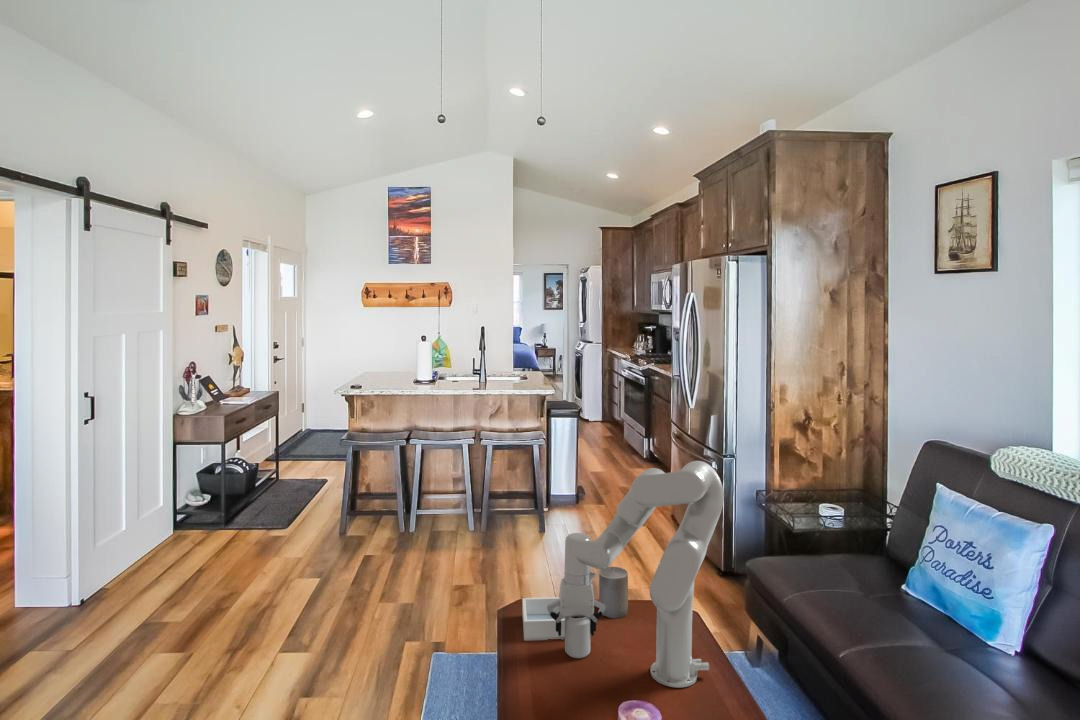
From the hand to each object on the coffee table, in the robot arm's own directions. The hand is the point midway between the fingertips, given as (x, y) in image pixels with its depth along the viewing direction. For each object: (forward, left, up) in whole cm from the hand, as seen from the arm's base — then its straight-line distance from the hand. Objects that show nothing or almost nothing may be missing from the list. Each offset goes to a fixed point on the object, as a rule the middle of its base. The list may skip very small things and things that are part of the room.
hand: (575, 633), depth 181 cm
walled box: (+7, -16, -6) cm, 18 cm away
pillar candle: (-16, -25, -6) cm, 30 cm away
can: (-1, 0, -6) cm, 6 cm away
